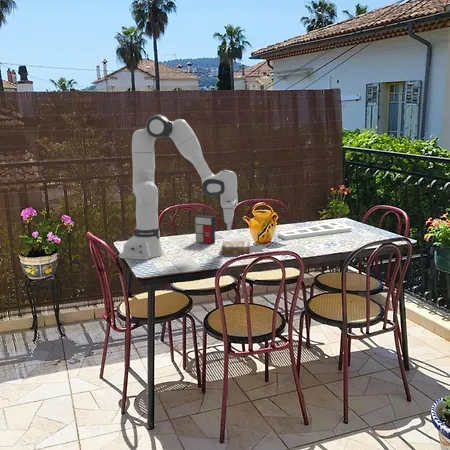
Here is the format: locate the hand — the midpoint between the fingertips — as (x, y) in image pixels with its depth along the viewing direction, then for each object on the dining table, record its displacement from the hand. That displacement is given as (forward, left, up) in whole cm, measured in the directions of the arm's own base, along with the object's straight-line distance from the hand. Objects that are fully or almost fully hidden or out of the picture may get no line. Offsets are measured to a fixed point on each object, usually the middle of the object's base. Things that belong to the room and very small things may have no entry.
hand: (229, 228), depth 244 cm
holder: (+47, +41, -13) cm, 64 cm away
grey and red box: (-15, +19, -13) cm, 27 cm away
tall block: (-4, 0, -10) cm, 11 cm away
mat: (+8, 0, -13) cm, 15 cm away
